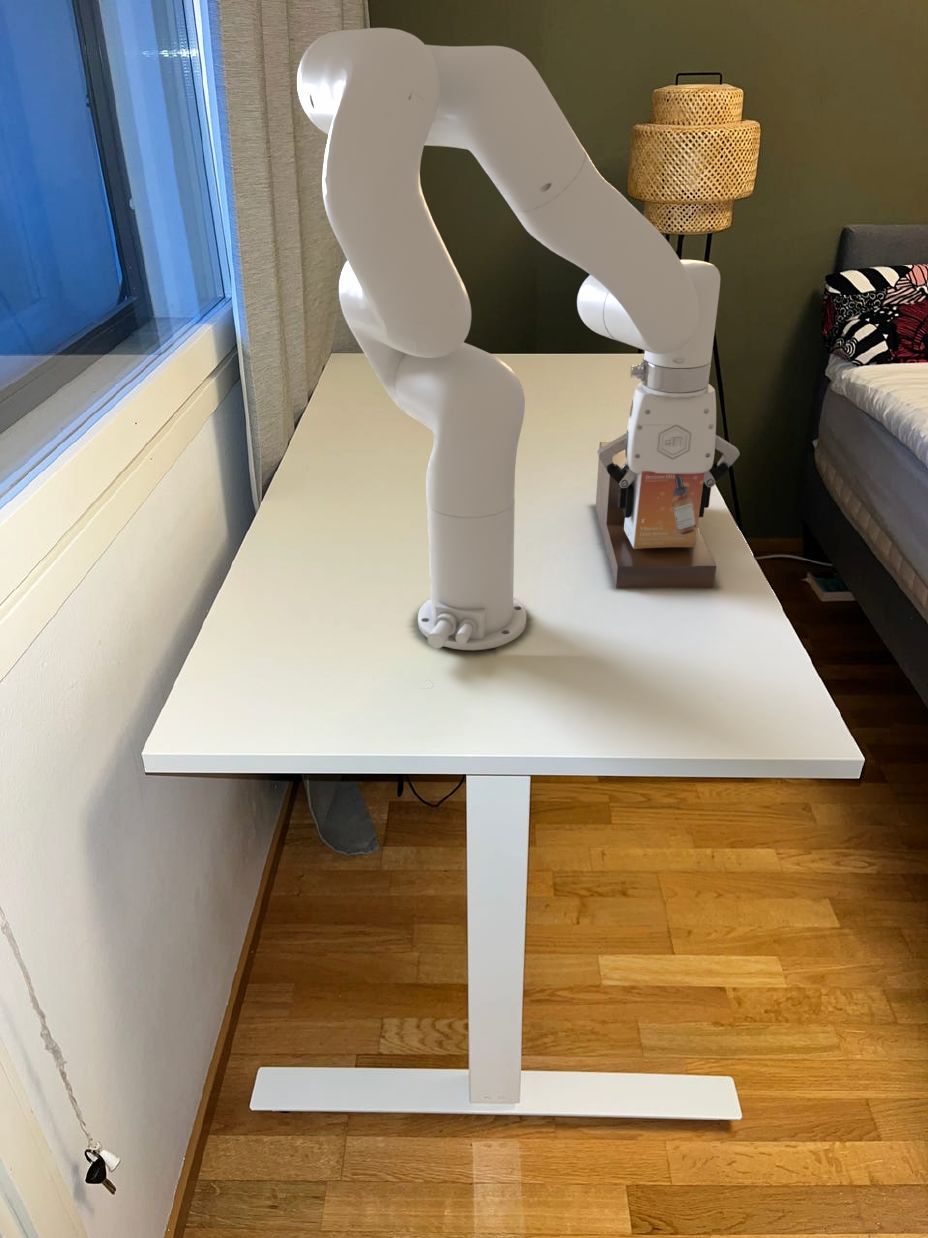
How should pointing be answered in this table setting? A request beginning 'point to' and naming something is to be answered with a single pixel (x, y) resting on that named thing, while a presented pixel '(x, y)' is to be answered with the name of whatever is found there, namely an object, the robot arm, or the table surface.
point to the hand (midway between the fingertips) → (662, 512)
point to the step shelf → (646, 563)
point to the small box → (664, 510)
